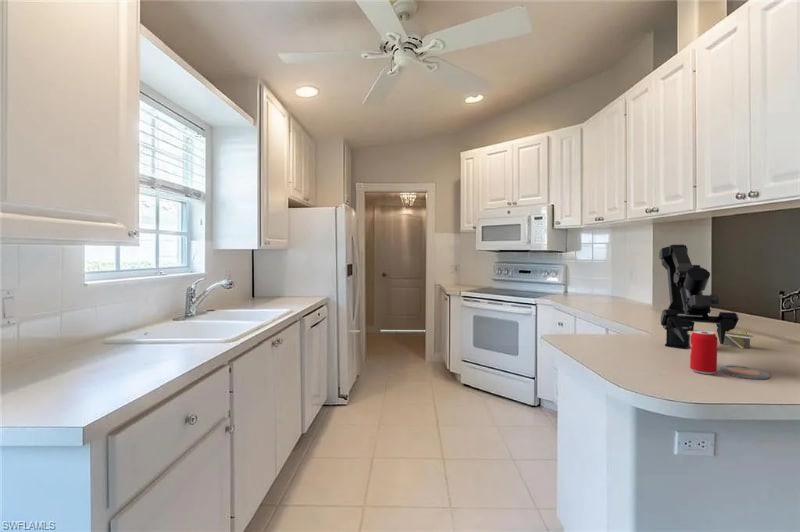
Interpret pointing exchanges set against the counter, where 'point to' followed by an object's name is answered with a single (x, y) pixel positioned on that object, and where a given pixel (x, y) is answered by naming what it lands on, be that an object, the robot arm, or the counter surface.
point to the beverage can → (703, 352)
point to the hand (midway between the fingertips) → (702, 342)
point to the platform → (737, 339)
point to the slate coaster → (744, 372)
